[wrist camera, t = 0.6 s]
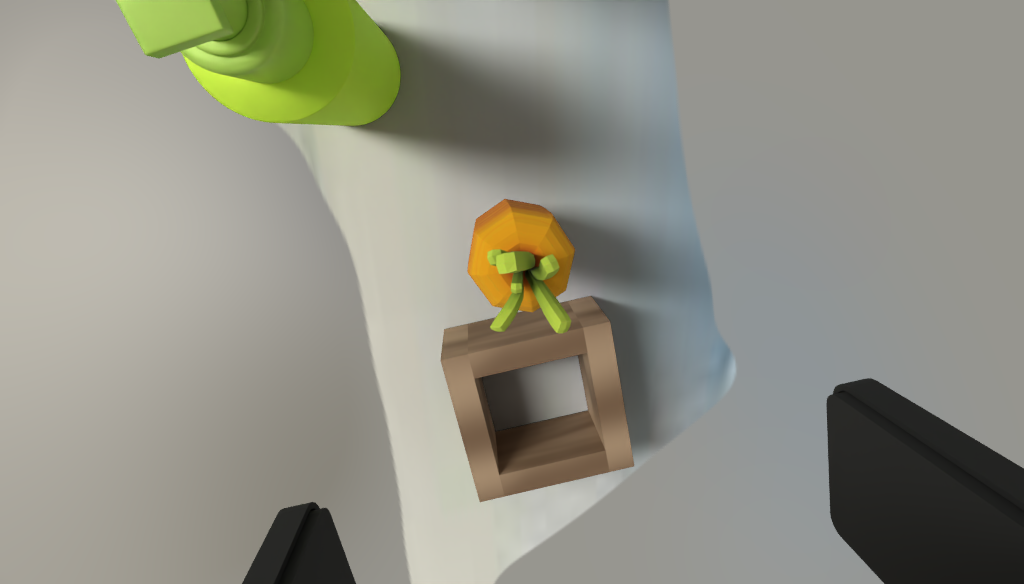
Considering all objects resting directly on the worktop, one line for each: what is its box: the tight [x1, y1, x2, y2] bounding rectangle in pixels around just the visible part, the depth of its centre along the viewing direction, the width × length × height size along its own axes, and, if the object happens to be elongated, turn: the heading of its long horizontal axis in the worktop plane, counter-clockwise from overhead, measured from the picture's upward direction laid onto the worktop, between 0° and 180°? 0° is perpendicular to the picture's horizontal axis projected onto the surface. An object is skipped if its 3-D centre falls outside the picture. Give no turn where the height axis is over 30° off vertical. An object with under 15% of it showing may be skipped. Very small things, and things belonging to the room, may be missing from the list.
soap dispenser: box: [116, 0, 401, 126], centre depth 21 cm, size 6×7×20 cm
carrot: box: [468, 199, 575, 333], centre depth 26 cm, size 5×5×15 cm
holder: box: [441, 296, 634, 502], centre depth 35 cm, size 10×10×5 cm
